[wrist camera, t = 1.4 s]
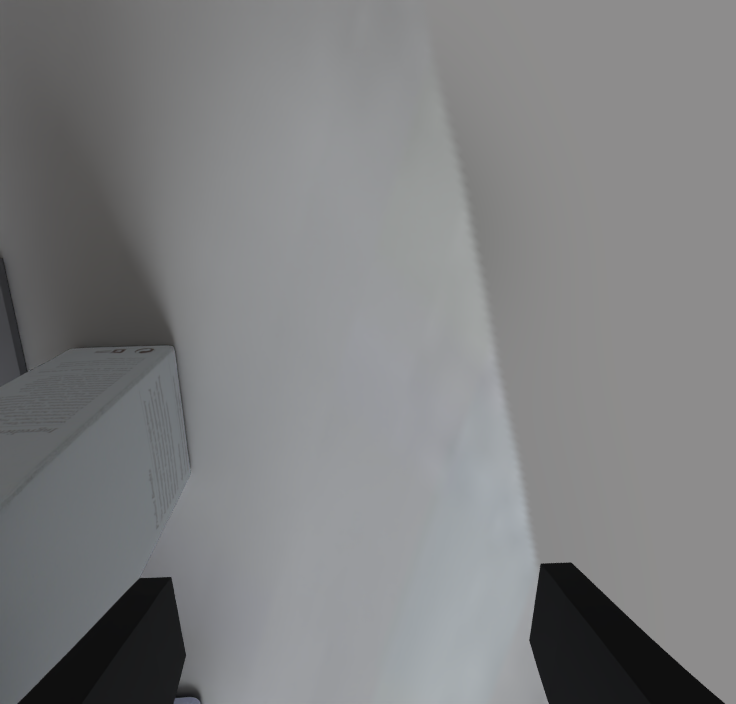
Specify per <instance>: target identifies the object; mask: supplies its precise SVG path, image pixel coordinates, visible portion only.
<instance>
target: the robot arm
mask: <svg viewBox="0 0 736 704" xmlns="http://www.w3.org/2000/svg"><path fill="white" fill-rule="evenodd" d="M529 641H530V644H531V648H532V651H533V654H534V658H535V661H536V665H537V668H538V671H539V675H540V678H541V681H542V684H543V687H544V690H545V693H546V696H547V700H548V702H549V704H725V703H723V702H722V701H721V700H720V699H719V698H718V697H717V696H715V695H714V694H713V693H712V692H711V691H709V690H708V689H707V688H706V687H705V686H704V685H703V684H701V683H700V682H699V681H698V680H697V679H696V678H695V677H693V676H692V675H691V674H690V673H689V672H688V671H687V670H685V669H684V668H683V667H682V666H681V665H680V664H679V663H678V662H677V661H675V660H674V659H673V658H672V657H671V656H670V655H669V654H668V653H667V652H665V651H664V650H663V649H662V648H661V647H660V646H659V645H658V644H657V643H656V642H655V641H653V640H652V639H651V638H650V637H649V636H648V635H647V634H646V633H645V632H644V631H643V630H642V629H641V628H639V627H638V626H637V625H636V624H635V623H634V622H633V621H632V620H631V619H630V618H629V617H628V616H627V615H626V614H625V613H624V612H623V611H621V610H620V609H619V608H618V607H617V606H616V605H615V604H614V603H613V602H612V601H611V600H610V599H609V598H608V597H607V596H606V595H605V594H604V593H603V592H602V591H601V590H600V589H598V588H597V587H596V586H595V585H594V584H593V583H592V582H591V581H590V580H589V579H588V578H587V577H586V576H585V575H584V574H583V573H582V572H581V571H580V570H579V569H578V568H576V567H575V566H574V565H573V564H572V563H547V564H541V565H540V572H539V579H538V586H537V592H536V599H535V606H534V613H533V620H532V626H531V633H530V640H529ZM185 657H186V653H185V648H184V642H183V637H182V632H181V626H180V621H179V616H178V610H177V605H176V600H175V594H174V589H173V584H172V578H171V577H162V578H139V579H138V580H137V581H136V582H135V583H134V584H133V585H132V586H131V587H130V588H129V589H128V590H127V591H126V592H125V593H124V594H123V595H122V596H121V597H120V598H119V599H118V600H117V602H116V603H115V604H114V605H113V606H112V607H111V608H110V609H109V610H108V611H107V612H106V613H105V614H104V615H103V616H102V617H101V618H100V619H99V620H98V622H97V623H96V624H95V625H94V626H93V627H92V628H91V629H90V630H89V631H88V632H87V633H86V634H85V635H84V636H83V637H82V638H81V639H80V640H79V641H78V642H77V644H76V645H75V646H74V647H73V648H72V649H71V650H70V651H69V652H68V653H67V654H66V655H65V656H64V657H63V658H62V659H61V660H60V661H59V662H58V663H57V664H56V665H55V666H54V667H53V668H52V669H51V670H50V671H49V672H48V673H47V674H46V675H45V676H44V677H43V678H42V679H41V680H40V681H39V682H38V683H37V684H36V685H35V686H34V687H33V688H32V689H31V690H30V691H29V692H28V693H27V694H26V695H25V696H24V697H23V698H22V699H21V700H20V701H19V702H18V703H17V704H201V703H200V701H199V700H198V699H197V698H194V697H184V698H175V696H176V693H177V689H178V685H179V681H180V677H181V673H182V669H183V665H184V661H185Z"/></svg>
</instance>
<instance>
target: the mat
mask: <svg viewBox="0 0 736 704" xmlns="http://www.w3.org/2000/svg"><path fill="white" fill-rule="evenodd" d="M25 373H27V370H26V365H25V361H24V356H23V351H22V347H21V342H20V338H19V333H18V328H17V324H16V319H15V315H14V310H13V305H12V301H11V296H10V291H9V287H8V282H7V278H6V273H5V268H4V264H3V259H2V258H0V387H1V386H3V385H5V384H6V383H8V382H10V381H12V380H14V379H16V378H17V377H19V376H21V375H23V374H25Z"/></svg>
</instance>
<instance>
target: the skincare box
mask: <svg viewBox="0 0 736 704" xmlns="http://www.w3.org/2000/svg"><path fill="white" fill-rule="evenodd" d="M190 474H191V470H190V464H189V456H188V449H187V441H186V433H185V425H184V417H183V410H182V402H181V395H180V387H179V380H178V371H177V363H176V356H175V350H174V347H173V346H168V345H165V346H130V347H96V348H74V349H70V350H67V351H66V352H64V353H62V354H60V355H59V356H57V357H55V358H53V359H52V360H49V361H48V362H46V363H44V364H42V365H40V366H38V367H36V368H34V369H32V370H31V371H29V372H27V373H25V374H23V375H21V376H19V377H17V378H16V379H14V380H12V381H10V382H8V383H6V384H5V385H3V386H1V387H0V704H17V703H18V702H19V701H20V700H21V699H22V698H23V697H24V696H25V695H26V694H27V693H28V692H29V691H30V690H31V689H32V688H33V687H34V686H35V685H36V684H37V683H38V682H39V681H40V680H41V679H42V678H43V677H44V676H45V675H46V674H47V673H48V672H49V671H50V670H51V669H52V668H53V667H54V666H55V665H56V664H57V663H58V662H59V661H60V660H61V659H62V658H63V657H64V656H65V655H66V654H67V653H68V652H69V651H70V650H71V649H72V648H73V647H74V646H75V645H76V644H77V642H78V641H79V640H80V639H81V638H82V637H83V636H84V635H85V634H86V633H87V632H88V631H89V630H90V629H91V628H92V627H93V626H94V625H95V624H96V623H97V622H98V620H99V619H100V618H101V617H102V616H103V615H104V614H105V613H106V612H107V611H108V610H109V609H110V608H111V607H112V606H113V605H114V604H115V603H116V602H117V600H118V599H119V598H120V597H121V596H122V595H123V594H124V593H125V592H126V591H127V590H128V589H129V588H130V587H131V586H132V585H133V584H134V583H135V582H136V581H137V580H138V579H139V578H140V576H141V574H142V572H143V570H144V568H145V566H146V564H147V562H148V560H149V558H150V556H151V554H152V552H153V550H154V548H155V546H156V544H157V542H158V540H159V537H160V535H161V533H162V531H163V529H164V527H165V525H166V523H167V521H168V519H169V517H170V515H171V513H172V511H173V509H174V507H175V505H176V503H177V501H178V499H179V497H180V495H181V493H182V491H183V489H184V487H185V485H186V483H187V481H188V479H189V477H190Z"/></svg>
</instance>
